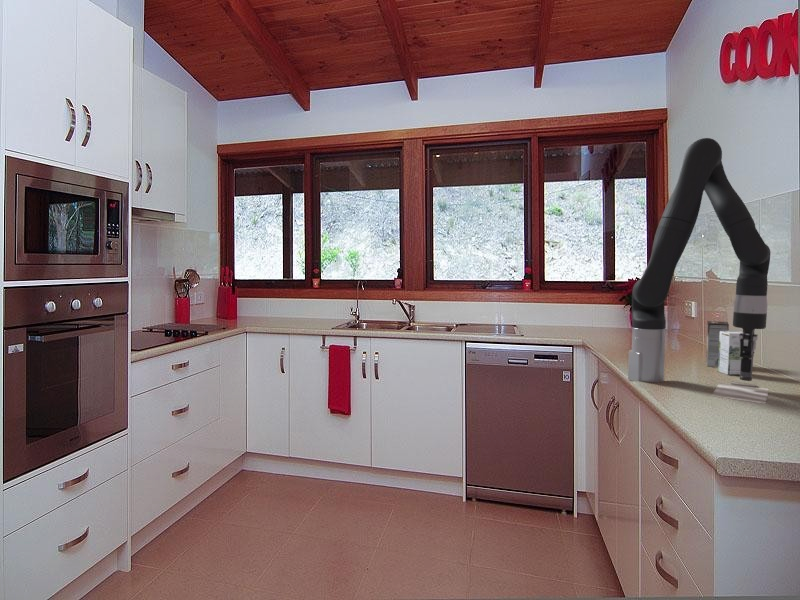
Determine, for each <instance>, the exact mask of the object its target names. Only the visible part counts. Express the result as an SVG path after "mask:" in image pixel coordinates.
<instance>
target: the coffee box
mask: <svg viewBox="0 0 800 600" xmlns="http://www.w3.org/2000/svg"><path fill="white" fill-rule="evenodd" d="M706 325H707V326H706V348H705V349H706V352H705V353H706V355H705V356H706V359H705V362H706V367H713V368H718V357H719V336H720V331H730V323H729V322H728V321H714V320H713V321H712V320H707V324H706Z"/></svg>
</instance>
